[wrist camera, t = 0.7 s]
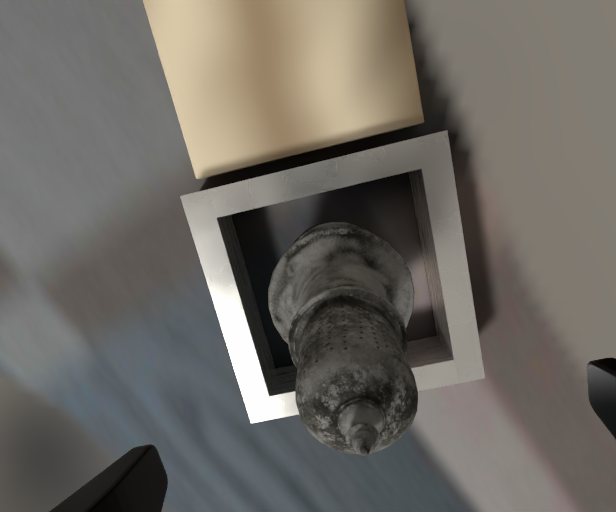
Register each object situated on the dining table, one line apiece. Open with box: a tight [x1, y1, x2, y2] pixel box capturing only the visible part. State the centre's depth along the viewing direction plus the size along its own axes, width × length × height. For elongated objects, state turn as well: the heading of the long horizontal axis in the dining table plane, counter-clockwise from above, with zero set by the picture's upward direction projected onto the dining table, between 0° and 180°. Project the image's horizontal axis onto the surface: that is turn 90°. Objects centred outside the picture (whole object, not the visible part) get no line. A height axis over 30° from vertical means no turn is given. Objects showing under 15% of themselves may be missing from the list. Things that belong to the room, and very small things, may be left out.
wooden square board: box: [143, 0, 424, 179], centre depth 16 cm, size 10×10×1 cm
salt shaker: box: [268, 222, 418, 456], centre depth 13 cm, size 6×6×12 cm
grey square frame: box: [180, 130, 485, 423], centre depth 18 cm, size 11×11×2 cm
